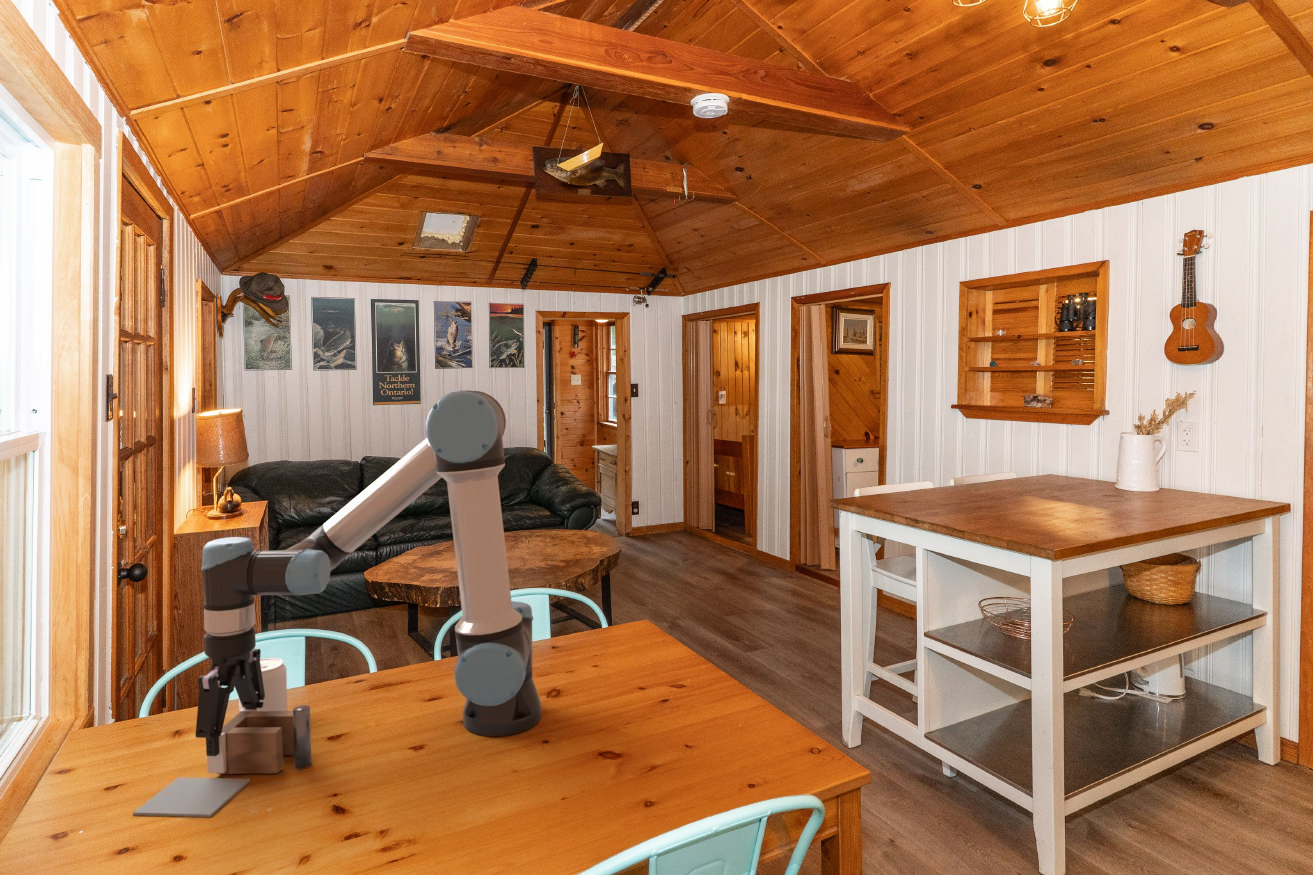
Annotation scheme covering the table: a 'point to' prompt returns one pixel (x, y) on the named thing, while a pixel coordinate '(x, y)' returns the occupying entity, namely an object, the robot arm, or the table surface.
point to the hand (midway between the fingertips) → (233, 757)
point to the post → (302, 737)
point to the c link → (258, 741)
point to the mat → (192, 797)
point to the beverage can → (273, 685)
